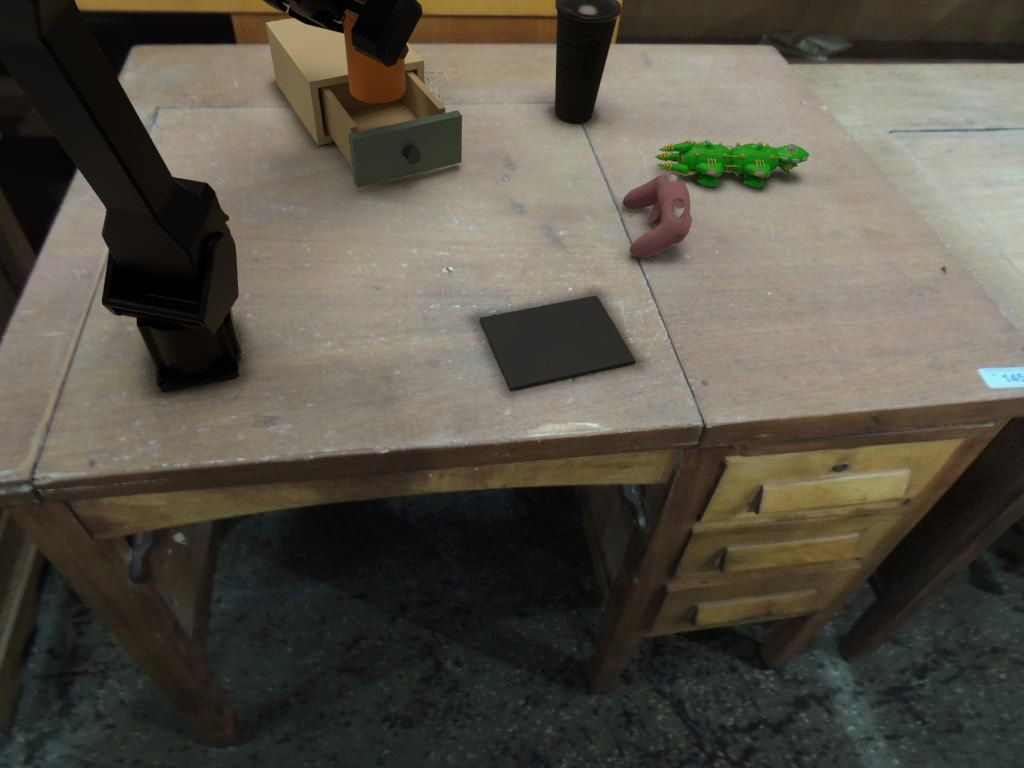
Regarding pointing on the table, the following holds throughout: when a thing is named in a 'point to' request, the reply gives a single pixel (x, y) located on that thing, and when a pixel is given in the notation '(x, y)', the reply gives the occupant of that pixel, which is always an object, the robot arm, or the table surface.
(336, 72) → the cabinet
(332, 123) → the drawer
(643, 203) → the video game controller
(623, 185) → the table surface
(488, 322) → the mat
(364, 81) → the orange bottle
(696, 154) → the crocodile figurine
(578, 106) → the drinking cup
